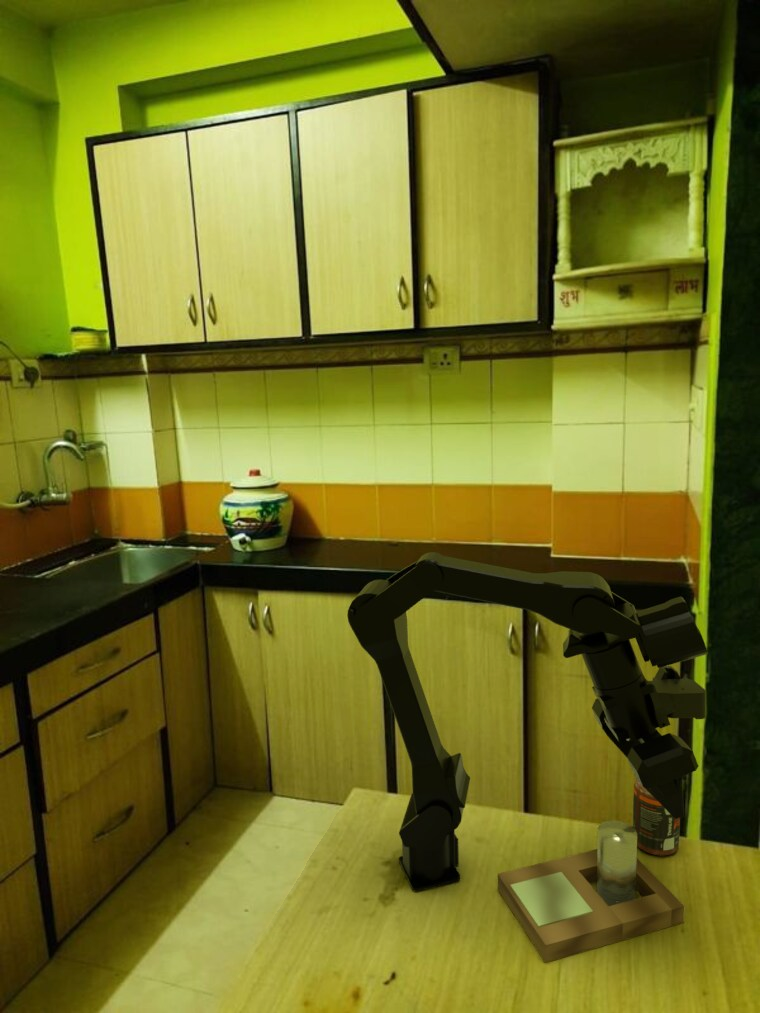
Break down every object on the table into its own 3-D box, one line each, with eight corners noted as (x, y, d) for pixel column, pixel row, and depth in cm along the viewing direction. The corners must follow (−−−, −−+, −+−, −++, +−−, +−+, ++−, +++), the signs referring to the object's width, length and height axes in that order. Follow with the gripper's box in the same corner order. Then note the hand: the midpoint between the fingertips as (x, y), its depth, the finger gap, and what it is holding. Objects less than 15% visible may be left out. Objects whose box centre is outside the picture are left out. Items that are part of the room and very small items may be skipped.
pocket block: (545, 962, 78) (545, 943, 77) (497, 889, 89) (497, 872, 89) (683, 922, 83) (684, 904, 82) (621, 857, 94) (622, 841, 94)
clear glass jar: (610, 915, 84) (612, 847, 83) (589, 889, 88) (590, 824, 87) (643, 906, 85) (645, 839, 84) (620, 881, 90) (622, 817, 88)
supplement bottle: (683, 860, 93) (686, 781, 91) (635, 855, 94) (637, 778, 92) (674, 832, 99) (677, 757, 97) (629, 828, 100) (631, 754, 98)
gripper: (719, 680, 73) (770, 814, 74) (653, 630, 91) (695, 738, 93) (616, 719, 73) (669, 851, 75) (572, 661, 92) (615, 768, 93)
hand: (664, 796), depth 84 cm, fingers open, 9 cm apart
